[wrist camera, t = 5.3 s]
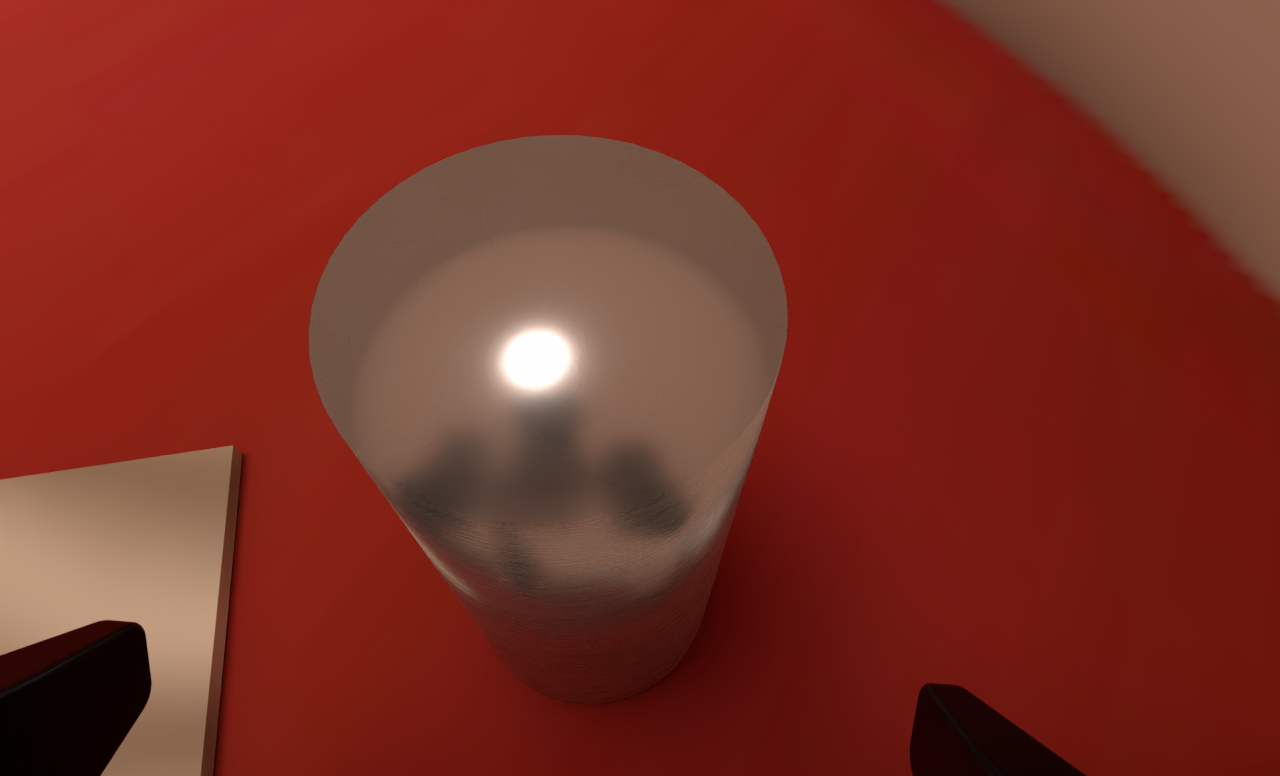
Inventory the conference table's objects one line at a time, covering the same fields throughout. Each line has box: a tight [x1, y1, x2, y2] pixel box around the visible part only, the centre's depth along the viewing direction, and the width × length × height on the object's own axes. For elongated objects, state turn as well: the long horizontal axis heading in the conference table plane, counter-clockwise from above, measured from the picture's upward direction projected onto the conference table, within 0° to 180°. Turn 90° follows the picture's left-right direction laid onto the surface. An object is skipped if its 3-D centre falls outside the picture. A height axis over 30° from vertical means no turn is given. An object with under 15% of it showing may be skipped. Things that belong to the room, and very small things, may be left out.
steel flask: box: [309, 135, 788, 704], centre depth 15 cm, size 6×6×12 cm
